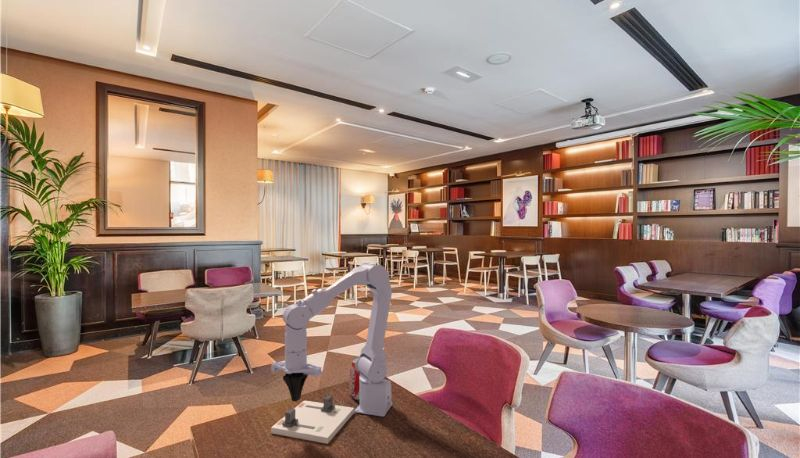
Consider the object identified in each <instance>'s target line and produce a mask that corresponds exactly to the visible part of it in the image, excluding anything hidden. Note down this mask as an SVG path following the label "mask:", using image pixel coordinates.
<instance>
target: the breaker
mask: <svg viewBox="0 0 800 458" xmlns="http://www.w3.org/2000/svg"><path fill="white" fill-rule="evenodd" d="M323 403H324V406H323V407H322V408H321V411H326V412H331V411H332V410H333V409H334V408H335V404H333V395H328V394H327V395H325V397H324V398H323Z"/></svg>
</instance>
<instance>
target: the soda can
mask: <svg viewBox="0 0 800 458" xmlns="http://www.w3.org/2000/svg"><path fill="white" fill-rule="evenodd" d="M358 357H359V356H357V357H354V358H352V359H351V363H350V365H349V393H350V394H349V396H350V397H351V398H352V399H354V400H356V401H360V383H359V380H360V379H359V378H360V372H359V371H358V370H357V368H356V362H357V359H358Z"/></svg>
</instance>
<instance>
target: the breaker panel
mask: <svg viewBox="0 0 800 458" xmlns="http://www.w3.org/2000/svg"><path fill="white" fill-rule="evenodd" d="M334 405H335V404H334ZM323 406H324V402H319V401H318V402H317V401H309V400H303V401H302V402H300V403H299V404H298V405H297V406H295V407H294V408H293V409H295V419H298V422H297V423H296V424H295V425H294V426H293V427H288V426H283V425H282V423H283V422H284V421H285V416H283V417H282V418H281V419H279V420H278V421H277V422H276V423H275V424H274V425H272V426H271V427H270V433H271V434H273V435H277V436H278V435H279V436H286V437H289V438H295V439H300V440H305V441H312V442H315V443H322V444H326V445H328V444H329V443H330V442H331V441H332V440H333V438H334V437H335V436H336V435H337V434H338V432H339V431H340V430H341V429H342V427H344V425H345V424H346V423H347V422H348V420H349V419H350V418H352V416H353V415H354V414H355V407H351V406H343V405H335V408H334V409H333V410H332V411H331V412H326V411H321V408H322V407H323Z"/></svg>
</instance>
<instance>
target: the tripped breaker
mask: <svg viewBox="0 0 800 458" xmlns="http://www.w3.org/2000/svg"><path fill="white" fill-rule="evenodd" d="M284 417H285V421H284V422H283V423H282V425H283V426H288V427H293V426H294V425H295V424H296V423H297V422H298V419H295V409H294V408H291V407H290V408H288V410H286V411H285V412H284Z"/></svg>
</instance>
